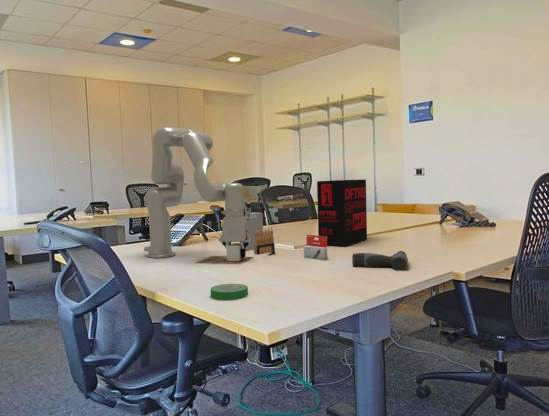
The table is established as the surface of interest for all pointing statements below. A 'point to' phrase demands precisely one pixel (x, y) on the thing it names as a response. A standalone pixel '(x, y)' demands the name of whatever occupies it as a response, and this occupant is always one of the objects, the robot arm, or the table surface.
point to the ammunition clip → (264, 242)
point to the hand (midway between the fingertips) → (236, 257)
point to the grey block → (233, 252)
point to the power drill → (380, 260)
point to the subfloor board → (222, 260)
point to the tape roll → (229, 291)
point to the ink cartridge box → (316, 248)
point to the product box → (342, 211)
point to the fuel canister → (253, 225)
